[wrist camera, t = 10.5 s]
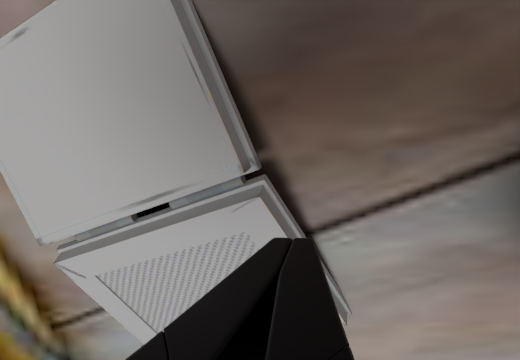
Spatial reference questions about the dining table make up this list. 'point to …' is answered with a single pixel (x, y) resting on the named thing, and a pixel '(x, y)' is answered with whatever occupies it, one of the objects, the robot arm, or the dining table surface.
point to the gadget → (133, 156)
